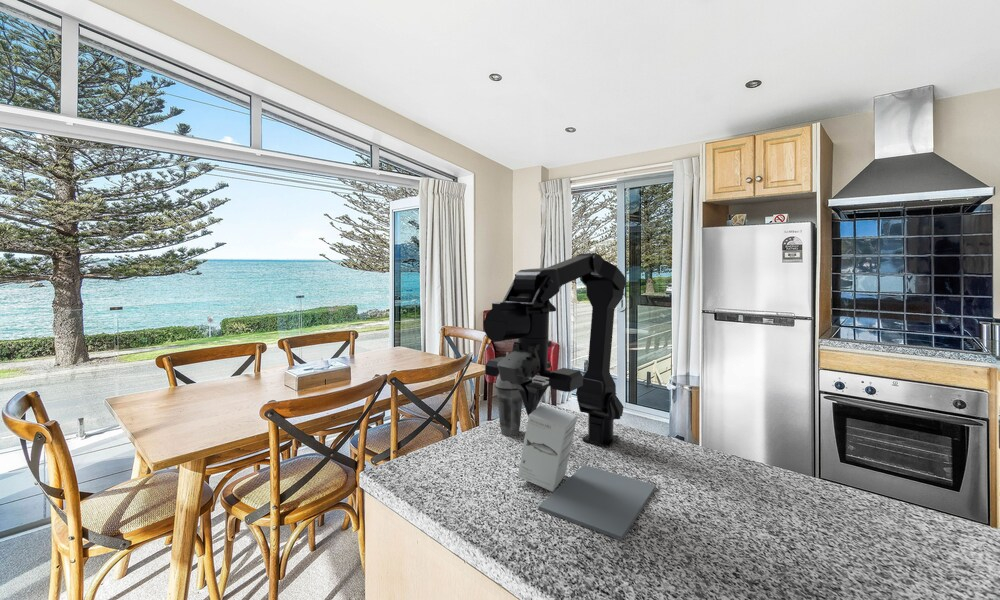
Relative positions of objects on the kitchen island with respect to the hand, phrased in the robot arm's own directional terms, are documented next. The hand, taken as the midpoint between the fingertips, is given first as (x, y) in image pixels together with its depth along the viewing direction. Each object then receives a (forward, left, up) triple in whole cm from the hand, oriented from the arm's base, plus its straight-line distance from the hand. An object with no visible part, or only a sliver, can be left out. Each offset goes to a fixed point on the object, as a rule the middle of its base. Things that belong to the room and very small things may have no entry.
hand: (530, 416), depth 80 cm
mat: (0, +14, -12) cm, 18 cm away
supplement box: (0, +3, -11) cm, 11 cm away
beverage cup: (-16, -15, -12) cm, 25 cm away
